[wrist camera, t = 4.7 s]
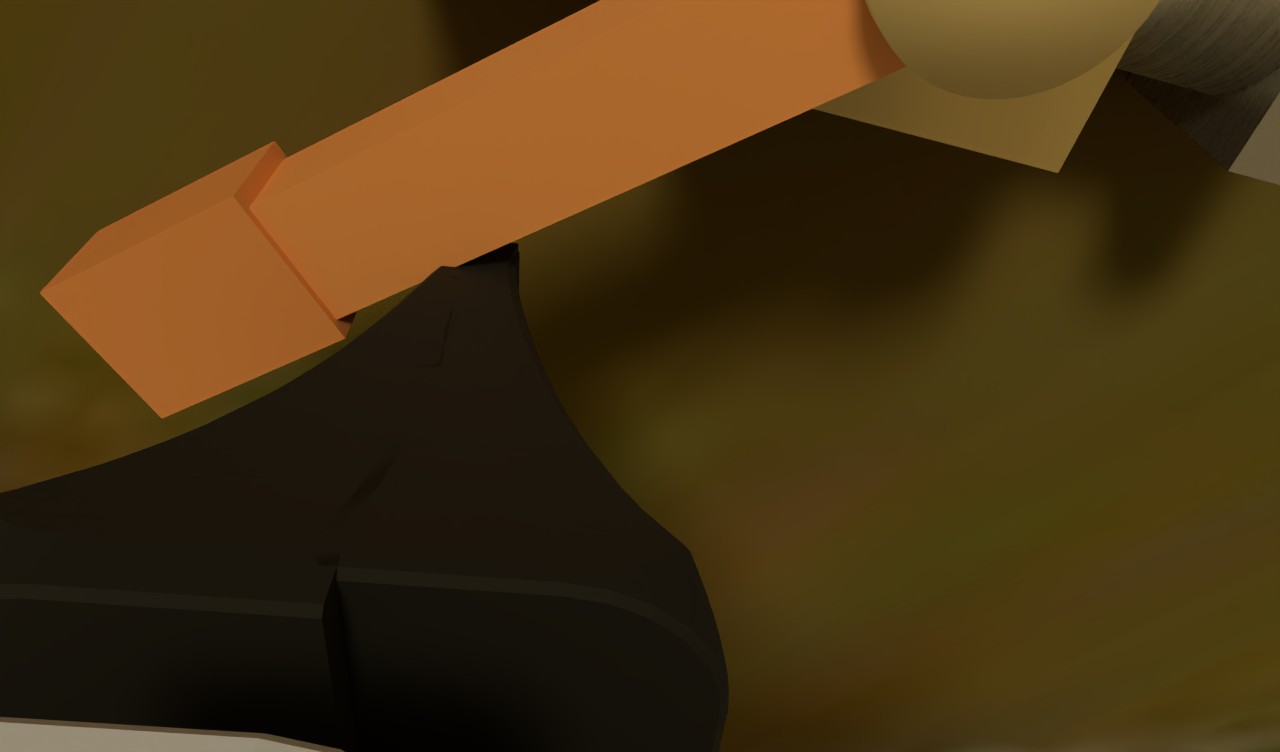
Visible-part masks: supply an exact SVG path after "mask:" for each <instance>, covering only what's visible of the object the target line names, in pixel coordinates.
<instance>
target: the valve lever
mask: <svg viewBox="0 0 1280 752" xmlns="http://www.w3.org/2000/svg"><path fill="white" fill-rule="evenodd" d="M1159 1H1160V0H600V1H598V2H596V3H594V4H592V5H590V6H588V7H586V8H584V9H582V10H580V11H578V12H576V13H574V14H572V15H570V16H568V17H566V18H564V19H562V20H560V21H558V22H556V23H554V24H552V25H550V26H548V27H546V28H544V29H542V30H540V31H538V32H536V33H534V34H532V35H530V36H528V37H526V38H524V39H522V40H520V41H518V42H516V43H514V44H512V45H510V46H508V47H506V48H504V49H502V50H500V51H498V52H496V53H494V54H492V55H491V56H489V57H487V58H485V59H483V60H481V61H479V62H477V63H475V64H473V65H471V66H469V67H467V68H465V69H463V70H461V71H459V72H457V73H455V74H453V75H451V76H449V77H447V78H445V79H443V80H441V81H439V82H437V83H435V84H433V85H431V86H429V87H427V88H425V89H423V90H421V91H419V92H417V93H415V94H413V95H411V96H409V97H407V98H405V99H403V100H401V101H399V102H397V103H395V104H393V105H391V106H389V107H387V108H385V109H383V110H381V111H379V112H377V113H375V114H373V115H371V116H369V117H367V118H365V119H363V120H361V121H359V122H357V123H355V124H353V125H351V126H349V127H347V128H345V129H343V130H341V131H339V132H337V133H335V134H333V135H331V136H329V137H328V138H326V139H324V140H322V141H320V142H318V143H316V144H314V145H312V146H310V147H308V148H306V149H304V150H302V151H300V152H298V153H296V154H294V155H292V156H290V157H288V158H287V157H286V155H285V154H284V153H283V151H282V150H281V148H280V147H279V146H278V144H277V143H276V142H275V141H274V142H272V143H270V144H268V145H266V146H264V147H262V148H260V149H258V150H256V151H254V152H252V153H250V154H248V155H246V156H244V157H242V158H240V159H238V160H236V161H234V162H232V163H230V164H229V165H227V166H225V167H223V168H221V169H219V170H217V171H215V172H213V173H211V174H209V175H207V176H205V177H203V178H201V179H199V180H197V181H195V182H193V183H191V184H189V185H187V186H185V187H183V188H181V189H180V190H178V191H176V192H174V193H172V194H170V195H168V196H166V197H164V198H162V199H160V200H158V201H156V202H154V203H152V204H150V205H148V206H146V207H144V208H142V209H140V210H138V211H136V212H134V213H133V214H131V215H129V216H127V217H125V218H123V219H121V220H119V221H117V222H115V223H113V224H111V225H109V226H107V227H105V228H103V229H101V230H99V231H97V232H96V234H95V235H94V236H93V237H92V238H91V239H90V240H89V241H88V242H87V243H86V244H85V245H84V246H83V247H82V248H81V249H80V250H79V252H78V253H77V254H76V255H75V256H74V257H73V258H72V259H71V260H70V261H69V262H68V263H67V264H66V265H65V266H64V267H63V268H62V270H61V271H60V272H59V273H58V274H57V275H56V276H55V277H54V278H53V279H52V280H51V281H50V282H49V283H48V284H47V285H46V286H45V288H44V289H43V290H42V291H41V292H40V294H41V295H42V296H43V297H44V298H45V299H46V300H47V301H48V302H49V303H50V304H51V305H52V306H53V307H54V308H55V309H56V310H57V311H58V312H59V314H60V315H61V316H62V317H63V318H64V319H65V320H66V321H67V322H68V323H69V324H70V325H71V326H72V327H73V328H74V329H75V330H76V331H77V332H78V333H79V334H80V335H81V336H82V337H83V338H84V339H85V340H86V341H87V342H88V343H89V344H90V345H91V346H92V347H93V348H94V349H95V350H96V351H97V353H98V354H99V355H100V356H101V357H102V358H103V359H104V360H105V361H106V362H107V363H108V364H109V365H110V366H111V367H112V368H113V369H114V370H115V371H116V372H117V373H118V374H119V375H120V376H121V377H122V378H123V379H124V380H125V381H126V382H127V383H128V384H129V385H130V386H131V387H132V388H133V389H134V390H135V392H136V393H137V394H138V395H139V396H140V397H141V398H142V399H143V400H144V401H145V402H146V403H147V404H148V405H149V406H150V407H151V408H152V409H153V410H154V411H155V412H156V413H157V414H158V415H159V416H160V417H161V418H164V417H167V416H169V415H171V414H174V413H176V412H178V411H180V410H183V409H185V408H187V407H190V406H192V405H194V404H197V403H199V402H201V401H203V400H206V399H208V398H210V397H213V396H215V395H217V394H219V393H222V392H224V391H226V390H229V389H231V388H233V387H235V386H238V385H240V384H242V383H245V382H247V381H249V380H251V379H254V378H256V377H258V376H261V375H263V374H265V373H267V372H270V371H272V370H274V369H277V368H279V367H281V366H283V365H286V364H288V363H290V362H293V361H295V360H297V359H299V358H302V357H304V356H306V355H309V354H311V353H313V352H315V351H318V350H320V349H322V348H325V347H327V346H329V345H331V344H334V343H336V342H338V341H341V340H343V339H345V338H346V336H347V333H348V331H349V329H350V326H351V324H352V322H353V319H354V317H355V315H356V313H357V311H358V310H360V309H362V308H364V307H367V306H369V305H371V304H373V303H376V302H378V301H380V300H382V299H385V298H387V297H389V296H391V295H394V294H396V293H398V292H400V291H403V290H405V289H407V288H409V287H412V286H414V285H416V284H418V283H421V282H423V281H424V280H425V279H426V278H427V277H428V276H429V275H430V274H431V273H433V272H434V271H435V270H437V269H438V268H439V267H440V266H450V267H457V266H459V265H461V264H463V263H466V262H468V261H470V260H472V259H475V258H477V257H479V256H481V255H484V254H486V253H488V252H490V251H493V250H495V249H497V248H499V247H502V246H504V245H506V244H508V243H511V242H513V241H515V240H517V239H520V238H522V237H524V236H526V235H529V234H531V233H533V232H535V231H538V230H540V229H542V228H544V227H547V226H549V225H551V224H553V223H556V222H558V221H560V220H562V219H565V218H567V217H569V216H571V215H574V214H576V213H578V212H580V211H583V210H585V209H587V208H589V207H592V206H594V205H596V204H598V203H601V202H603V201H605V200H607V199H610V198H612V197H614V196H616V195H619V194H621V193H623V192H625V191H628V190H630V189H632V188H634V187H637V186H639V185H641V184H643V183H646V182H648V181H650V180H652V179H655V178H657V177H659V176H661V175H664V174H666V173H668V172H670V171H673V170H675V169H677V168H679V167H682V166H684V165H686V164H688V163H691V162H693V161H695V160H697V159H700V158H702V157H704V156H706V155H709V154H711V153H713V152H716V151H718V150H720V149H722V148H725V147H727V146H729V145H731V144H734V143H736V142H738V141H740V140H743V139H745V138H747V137H749V136H752V135H754V134H756V133H758V132H761V131H763V130H765V129H767V128H770V127H772V126H774V125H776V124H779V123H781V122H783V121H785V120H788V119H790V118H792V117H794V116H797V115H799V114H801V113H803V112H806V111H808V110H810V109H812V108H815V107H817V106H819V105H821V104H824V103H826V102H828V101H830V100H833V99H835V98H837V97H839V96H842V95H844V94H846V93H848V92H851V91H853V90H855V89H857V88H860V87H862V86H864V85H866V84H869V83H871V82H873V81H875V80H878V79H880V78H882V77H884V76H887V75H889V74H891V73H893V72H896V71H898V70H900V69H902V68H905V67H908V68H909V69H911V70H912V71H913V72H914V73H915V74H916V75H918V76H919V77H921V78H922V79H924V80H925V81H927V82H929V83H930V84H932V85H934V86H936V87H938V88H941V89H943V90H945V91H947V92H950V93H954V94H957V95H961V96H964V97H971V98H978V99H1011V98H1019V97H1025V96H1029V95H1033V94H1037V93H1041V92H1044V91H1047V90H1050V89H1053V88H1055V87H1058V86H1061V85H1063V84H1065V83H1067V82H1069V81H1071V80H1073V79H1075V78H1077V77H1079V76H1081V75H1083V74H1084V73H1086V72H1087V71H1089V70H1091V69H1092V68H1094V67H1095V66H1097V65H1099V64H1100V63H1101V62H1102V61H1104V60H1105V59H1106V58H1108V57H1109V56H1110V55H1112V54H1113V53H1114V52H1115V51H1117V50H1118V49H1119V48H1120V47H1121V46H1122V45H1123V44H1124V43H1125V42H1126V41H1127V40H1128V39H1129V38H1130V37H1131V36H1132V35H1133V34H1134V33H1135V32H1136V31H1137V30H1138V29H1139V27H1140V26H1141V25H1142V24H1143V23H1144V22H1145V20H1146V19H1147V18H1148V17H1149V15H1150V14H1151V12H1152V11H1153V10H1154V8H1155V7H1156V5H1157V4H1158V3H1159Z"/></svg>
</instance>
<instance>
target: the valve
mask: <svg viewBox="0 0 1280 752" xmlns="http://www.w3.org/2000/svg"><path fill="white" fill-rule="evenodd" d="M1115 68H1117V69H1121V70H1124V71H1128V72H1132V73H1131V75H1130V76H1129V78H1128V80H1127V82H1128V83H1129V84H1130V85H1131V86H1133V87H1134V88H1135V89H1136V90H1137V91H1138V92H1139V93H1140V94H1142V95H1143V96H1144V97H1145V98H1146V99H1147V100H1148V101H1150V102H1151V103H1152V104H1153V105H1154V106H1155V107H1156V108H1157V109H1159V110H1160V111H1161V112H1162V113H1163V114H1164V115H1165V116H1166V117H1168V118H1169V119H1170V120H1171V121H1172V122H1173V123H1174V124H1176V125H1177V126H1178V127H1179V128H1180V129H1181V130H1182V131H1183V132H1185V133H1186V134H1187V135H1188V136H1189V137H1190V138H1191V139H1192V140H1194V141H1195V142H1196V143H1197V144H1198V145H1199V146H1200V147H1202V148H1203V149H1204V150H1205V151H1206V152H1207V153H1208V154H1209V155H1211V156H1212V157H1213V158H1214V159H1215V160H1216V161H1217V162H1219V163H1220V164H1221V165H1222V166H1223V167H1224V168H1225V169H1226V170H1228V171H1230V172H1234V173H1237V174H1241V175H1245V176H1248V177H1252V178H1256V179H1260V180H1263V181H1267V182H1271V183H1274V184H1278V185H1280V0H1160V1H1159V3H1158V4H1157V5H1156V7H1155V8H1154V10H1153V11H1152V12H1151V14H1150V15H1149V17H1148V18H1147V19H1146V20H1145V22H1144V23H1143V24H1142V25H1141V26H1140V27H1139V29H1138V30H1137V31H1136V32H1135V33H1134V34H1133V35H1132V36H1131V37H1130V38H1129V39H1128V40H1127V41H1126V42H1125V43H1124V44H1123V45H1122V46H1121V47H1120V48H1119V49H1118V50H1117V51H1115V52H1114V53H1113V54H1112V55H1110V56H1109V57H1108V58H1106V59H1105V60H1104V61H1102V62H1101V63H1100V64H1099V65H1097V66H1095V67H1094V68H1092V69H1091V70H1089V71H1087V72H1086V73H1084V74H1083V75H1081V76H1079V77H1077V78H1075V79H1073V80H1071V81H1069V82H1067V83H1065V84H1063V85H1061V86H1058V87H1055V88H1053V89H1050V90H1047V91H1044V92H1041V93H1037V94H1033V95H1029V96H1025V97H1019V98H1011V99H978V98H971V97H964V96H961V95H957V94H954V93H950V92H947V91H945V90H943V89H941V88H938V87H936V86H934V85H932V84H930V83H929V82H927V81H925V80H924V79H922V78H921V77H919V76H918V75H916V74H915V73H914V72H913V71H912V70H911V69H909V68H908V67H905V68H902V69H900V70H898V71H896V72H893V73H891V74H889V75H887V76H884V77H882V78H880V79H878V80H875V81H873V82H871V83H869V84H866V85H864V86H862V87H860V88H857V89H855V90H853V91H851V92H848V93H846V94H844V95H842V96H839V97H837V98H835V99H833V100H830V101H828V102H826V103H824V104H821V105H819V106H817V107H815V108H812V109H815V110H819V111H823V112H827V113H831V114H834V115H838V116H842V117H846V118H850V119H854V120H857V121H861V122H865V123H869V124H873V125H876V126H880V127H884V128H888V129H892V130H896V131H899V132H903V133H907V134H911V135H915V136H918V137H922V138H926V139H930V140H934V141H938V142H941V143H945V144H949V145H953V146H957V147H960V148H964V149H968V150H972V151H976V152H980V153H983V154H987V155H991V156H995V157H999V158H1002V159H1006V160H1010V161H1014V162H1018V163H1022V164H1025V165H1029V166H1033V167H1037V168H1041V169H1044V170H1048V171H1052V172H1056V173H1058V172H1059V170H1060V169H1061V167H1062V165H1063V163H1064V161H1065V159H1066V158H1067V156H1068V154H1069V152H1070V150H1071V149H1072V147H1073V145H1074V143H1075V141H1076V139H1077V138H1078V136H1079V134H1080V132H1081V130H1082V129H1083V127H1084V125H1085V123H1086V121H1087V119H1088V118H1089V116H1090V114H1091V112H1092V110H1093V108H1094V107H1095V105H1096V103H1097V101H1098V99H1099V98H1100V96H1101V94H1102V92H1103V90H1104V88H1105V87H1106V85H1107V83H1108V81H1109V79H1110V77H1111V76H1112V74H1113V72H1114V70H1115Z"/></svg>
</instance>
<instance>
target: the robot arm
mask: <svg viewBox="0 0 1280 752" xmlns="http://www.w3.org/2000/svg"><path fill="white" fill-rule="evenodd" d="M728 695H729V686H728V675H727V669H726V663H725V658H724V654H723V649H722V645H721V640H720V636H719V633H718V629H717V625H716V621H715V618H714V615H713V612H712V609H711V606H710V603H709V600H708V597H707V594H706V591H705V588H704V586H703V583H702V580H701V578H700V575H699V573H698V570H697V567H696V565H695V562H694V560H693V557H692V555H691V552H690V551H689V550H688V549H687V547H686V546H685V545H683V544H682V543H681V542H680V541H679V540H678V539H676V538H675V537H674V536H673V535H672V534H670V533H669V532H668V531H667V530H666V529H665V528H663V527H662V526H661V525H660V524H659V523H657V522H656V521H655V520H654V519H653V518H652V517H650V516H649V515H648V514H647V513H646V512H644V511H643V510H642V509H641V508H640V507H639V506H638V505H637V504H636V502H635V501H634V500H633V499H632V498H631V497H630V496H629V495H628V494H627V493H626V492H625V491H624V490H623V489H622V488H621V487H620V486H619V484H618V483H617V482H616V481H615V479H614V478H613V477H612V476H611V474H610V473H609V472H608V470H607V469H606V468H605V467H604V465H603V464H602V463H601V462H600V460H599V459H598V458H597V457H596V455H595V454H594V453H593V452H592V450H591V449H590V448H589V447H588V445H587V444H586V442H585V441H584V440H583V438H582V436H581V435H580V433H579V432H578V430H577V429H576V427H575V426H574V424H573V423H572V421H571V420H570V418H569V416H568V415H567V413H566V411H565V409H564V408H563V406H562V404H561V402H560V401H559V399H558V397H557V395H556V393H555V391H554V389H553V387H552V385H551V383H550V381H549V379H548V377H547V375H546V373H545V370H544V368H543V366H542V363H541V361H540V359H539V356H538V354H537V352H536V349H535V346H534V344H533V341H532V338H531V335H530V332H529V329H528V326H527V322H526V319H525V316H524V312H523V309H522V305H521V301H520V296H519V251H518V244H517V243H508V244H506V245H504V246H502V247H499V248H497V249H495V250H493V251H490V252H488V253H486V254H484V255H481V256H479V257H477V258H475V259H472V260H470V261H468V262H466V263H463V264H461V265H459V266H457V267H450V266H440V267H439V268H438V269H437V270H435V271H434V272H433V273H431V274H430V275H429V276H428V277H427V278H426V279H425V280H424V281H423V282H422V283H421V284H420V285H419V286H418V287H416V288H415V289H414V290H413V291H412V292H411V293H410V294H409V295H407V296H406V297H405V298H404V299H403V300H402V301H401V302H400V303H398V304H397V305H396V306H395V307H394V308H393V309H392V310H390V311H389V312H388V313H387V314H386V315H385V316H384V317H382V318H381V319H380V320H379V321H378V322H376V323H375V324H374V325H372V326H371V327H370V328H369V329H367V330H366V331H365V332H363V333H362V334H361V335H359V336H358V337H357V338H356V339H354V340H353V341H352V342H350V343H349V344H348V345H346V346H345V347H344V348H343V349H341V350H340V351H338V352H337V353H335V354H334V355H333V356H331V357H330V358H328V359H326V360H325V361H323V362H322V363H320V364H319V365H317V366H316V367H314V368H312V369H311V370H309V371H307V372H306V373H304V374H302V375H301V376H299V377H297V378H296V379H294V380H292V381H291V382H289V383H287V384H286V385H284V386H282V387H281V388H279V389H277V390H275V391H273V392H271V393H270V394H268V395H266V396H263V397H261V398H259V399H257V400H255V401H253V402H251V403H249V404H247V405H245V406H243V407H241V408H239V409H237V410H235V411H233V412H231V413H229V414H227V415H225V416H223V417H221V418H218V419H216V420H214V421H212V422H210V423H208V424H206V425H204V426H201V427H199V428H197V429H194V430H192V431H190V432H187V433H185V434H182V435H180V436H177V437H175V438H172V439H170V440H167V441H165V442H162V443H160V444H157V445H154V446H152V447H149V448H146V449H143V450H141V451H138V452H135V453H132V454H130V455H127V456H124V457H121V458H118V459H115V460H112V461H110V462H107V463H104V464H101V465H98V466H94V467H91V468H87V469H84V470H81V471H77V472H74V473H70V474H67V475H63V476H60V477H56V478H53V479H50V480H46V481H43V482H39V483H36V484H32V485H29V486H26V487H22V488H19V489H15V490H11V491H7V492H3V493H0V752H718V751H719V747H720V742H721V738H722V733H723V729H724V725H725V720H726V716H727V711H728Z"/></svg>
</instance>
